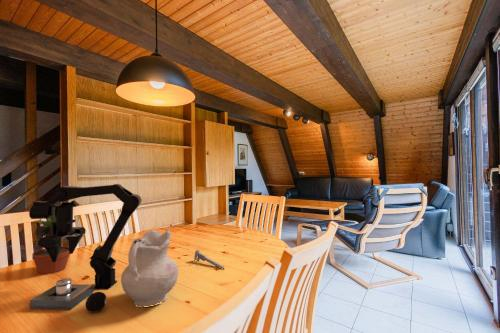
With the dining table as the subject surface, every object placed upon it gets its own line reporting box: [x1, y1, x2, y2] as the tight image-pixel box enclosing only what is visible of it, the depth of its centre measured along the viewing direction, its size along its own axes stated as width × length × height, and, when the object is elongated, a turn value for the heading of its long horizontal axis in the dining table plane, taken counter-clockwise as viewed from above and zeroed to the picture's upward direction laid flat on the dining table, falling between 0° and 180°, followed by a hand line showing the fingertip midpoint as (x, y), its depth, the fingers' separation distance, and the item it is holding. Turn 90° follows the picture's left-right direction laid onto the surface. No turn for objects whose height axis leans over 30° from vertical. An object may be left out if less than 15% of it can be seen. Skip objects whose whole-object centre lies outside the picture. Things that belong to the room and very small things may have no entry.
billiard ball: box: [85, 291, 108, 313], centre depth 83 cm, size 6×6×6 cm
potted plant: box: [31, 215, 71, 275], centre depth 117 cm, size 15×15×30 cm
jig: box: [29, 283, 95, 311], centre depth 90 cm, size 14×12×3 cm
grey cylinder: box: [55, 277, 73, 296], centre depth 90 cm, size 4×4×7 cm
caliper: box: [193, 248, 225, 268], centre depth 124 cm, size 20×1×6 cm, turn 56°
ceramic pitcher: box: [120, 229, 179, 308], centre depth 90 cm, size 22×20×25 cm
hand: (62, 257), depth 98 cm, fingers open, 9 cm apart
